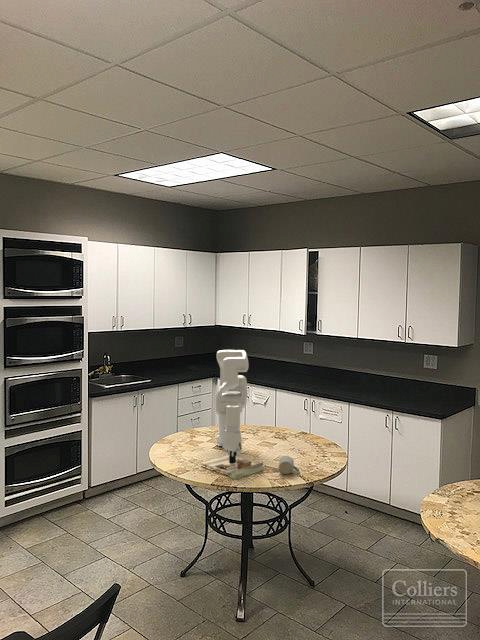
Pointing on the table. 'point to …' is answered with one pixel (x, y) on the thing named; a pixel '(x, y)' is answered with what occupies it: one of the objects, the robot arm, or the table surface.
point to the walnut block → (243, 463)
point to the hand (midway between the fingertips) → (232, 462)
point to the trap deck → (232, 467)
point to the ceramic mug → (287, 466)
